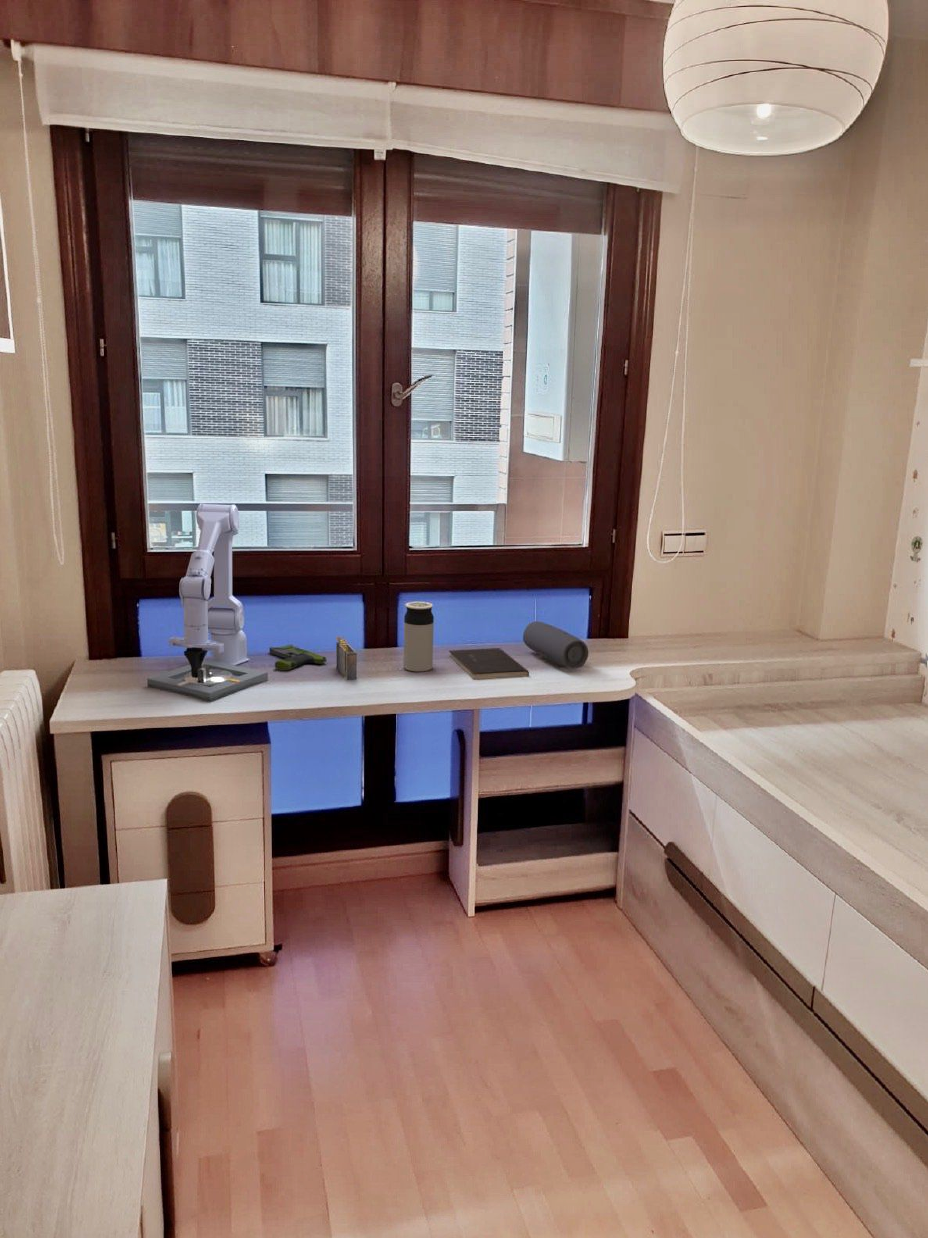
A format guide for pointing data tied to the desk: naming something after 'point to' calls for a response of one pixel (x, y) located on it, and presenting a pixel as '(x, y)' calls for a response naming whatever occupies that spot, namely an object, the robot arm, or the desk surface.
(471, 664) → the hardcover book
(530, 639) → the bluetooth speaker
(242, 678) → the dial plate
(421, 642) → the travel mug
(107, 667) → the desk surface
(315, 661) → the gun
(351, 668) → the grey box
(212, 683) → the dial
